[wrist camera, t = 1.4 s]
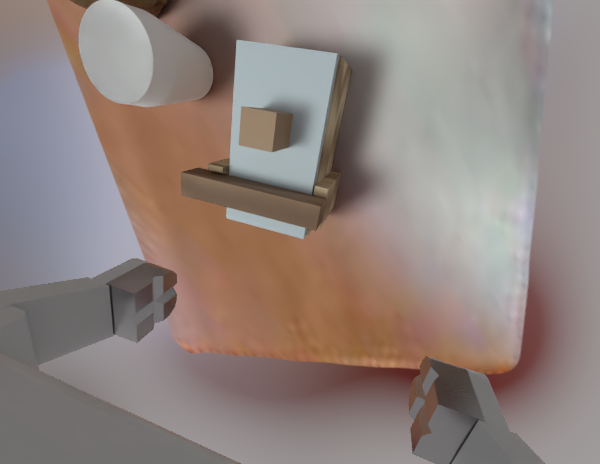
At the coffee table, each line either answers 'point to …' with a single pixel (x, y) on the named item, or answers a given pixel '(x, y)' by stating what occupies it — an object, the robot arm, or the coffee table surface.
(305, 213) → the bar
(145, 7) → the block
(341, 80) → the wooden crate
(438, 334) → the coffee table surface
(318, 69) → the lid
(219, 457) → the robot arm
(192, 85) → the cup
